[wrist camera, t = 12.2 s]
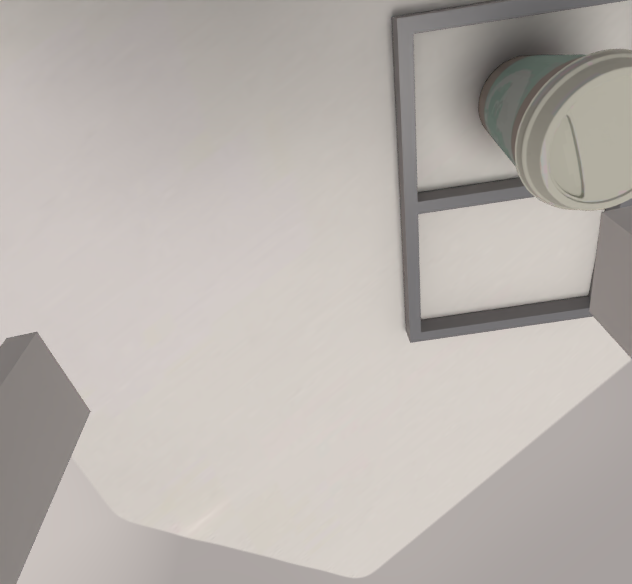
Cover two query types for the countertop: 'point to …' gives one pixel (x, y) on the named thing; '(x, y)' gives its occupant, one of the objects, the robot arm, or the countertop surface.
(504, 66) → the coffee cup
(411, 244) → the divided tray
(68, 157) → the countertop surface
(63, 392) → the robot arm
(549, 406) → the countertop surface
